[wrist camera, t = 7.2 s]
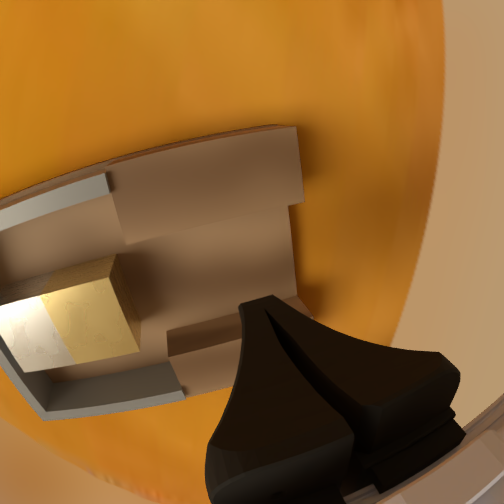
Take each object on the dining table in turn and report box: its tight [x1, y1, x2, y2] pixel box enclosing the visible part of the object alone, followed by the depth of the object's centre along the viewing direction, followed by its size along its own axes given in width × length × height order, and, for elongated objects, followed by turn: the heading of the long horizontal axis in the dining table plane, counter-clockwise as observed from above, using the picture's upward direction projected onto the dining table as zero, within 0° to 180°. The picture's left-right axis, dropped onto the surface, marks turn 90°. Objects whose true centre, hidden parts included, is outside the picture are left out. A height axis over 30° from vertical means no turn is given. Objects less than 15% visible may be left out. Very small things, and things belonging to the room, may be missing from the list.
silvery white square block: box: [0, 271, 76, 373], centre depth 13 cm, size 4×4×2 cm
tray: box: [0, 168, 186, 421], centre depth 13 cm, size 12×10×2 cm
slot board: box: [0, 125, 314, 398], centre depth 14 cm, size 12×17×3 cm
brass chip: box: [40, 254, 141, 364], centre depth 13 cm, size 4×4×2 cm
